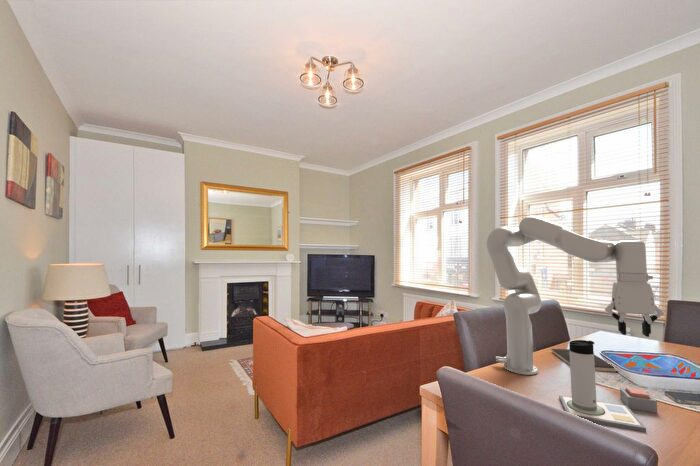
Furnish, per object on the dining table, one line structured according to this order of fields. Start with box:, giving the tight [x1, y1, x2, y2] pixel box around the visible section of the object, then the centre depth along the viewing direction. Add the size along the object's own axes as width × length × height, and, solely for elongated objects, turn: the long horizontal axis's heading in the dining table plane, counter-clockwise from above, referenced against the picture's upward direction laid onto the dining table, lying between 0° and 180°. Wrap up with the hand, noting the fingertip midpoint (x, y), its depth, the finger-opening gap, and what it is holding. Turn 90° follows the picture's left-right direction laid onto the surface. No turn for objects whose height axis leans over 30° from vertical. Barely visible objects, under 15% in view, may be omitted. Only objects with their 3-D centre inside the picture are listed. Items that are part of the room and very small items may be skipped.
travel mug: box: [569, 339, 598, 411], centre depth 101 cm, size 6×7×20 cm
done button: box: [625, 386, 649, 399], centre depth 103 cm, size 4×4×2 cm
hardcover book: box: [551, 348, 617, 373], centre depth 144 cm, size 16×23×2 cm
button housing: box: [619, 387, 658, 413], centre depth 103 cm, size 7×7×4 cm
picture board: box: [558, 395, 647, 433], centre depth 98 cm, size 18×14×1 cm
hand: (634, 334), depth 104 cm, fingers open, 5 cm apart
